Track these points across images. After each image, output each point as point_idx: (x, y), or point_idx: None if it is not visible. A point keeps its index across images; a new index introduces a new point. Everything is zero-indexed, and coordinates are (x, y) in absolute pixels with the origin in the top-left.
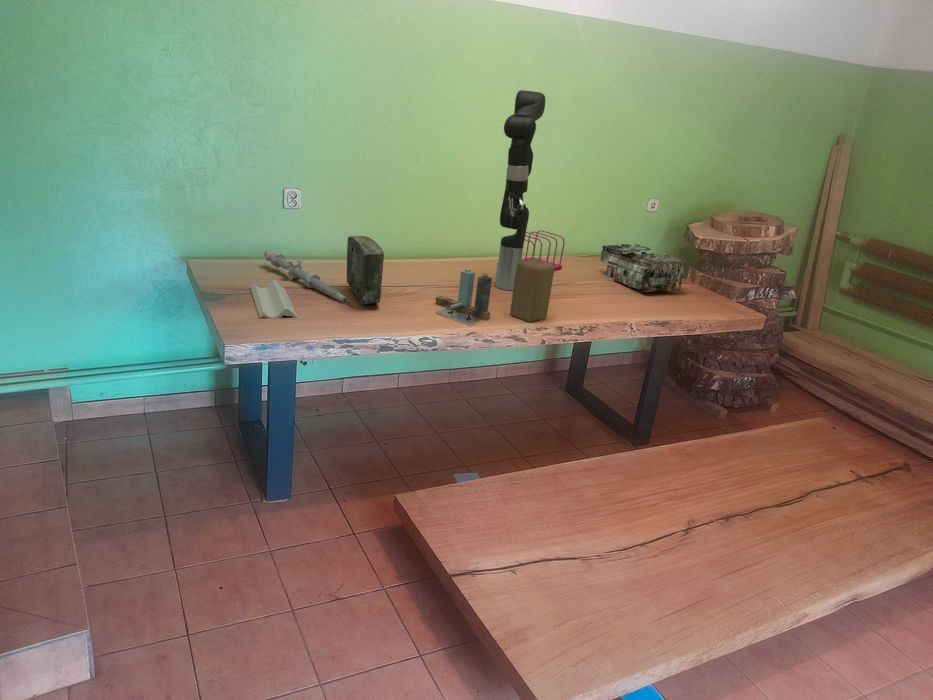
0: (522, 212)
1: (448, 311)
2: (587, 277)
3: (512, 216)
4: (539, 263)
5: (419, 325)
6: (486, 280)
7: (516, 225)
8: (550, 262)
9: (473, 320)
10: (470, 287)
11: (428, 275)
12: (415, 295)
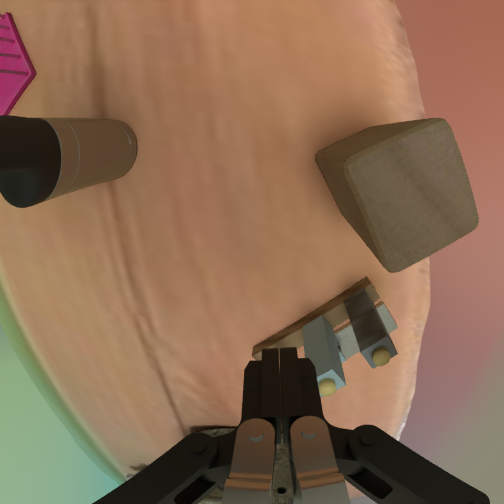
0: (417, 459)
1: None
2: None
3: (284, 442)
4: (430, 183)
5: (375, 395)
6: (396, 351)
7: (309, 366)
8: None
9: (384, 319)
10: (334, 350)
11: (77, 312)
12: (213, 375)
